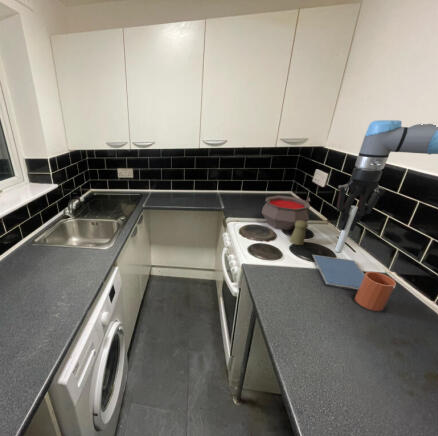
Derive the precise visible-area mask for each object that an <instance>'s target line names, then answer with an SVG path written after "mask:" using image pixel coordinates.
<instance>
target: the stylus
mask: <svg viewBox="0 0 438 436" xmlns="http://www.w3.org/2000/svg"><path fill="white" fill-rule="evenodd" d="M357 209H358V205H352V206H351V208H350V209H349V211H348V214H349V218H348V221H347V224H346V226H345V229H344V230H341V232H340V234H339V237H338V240H337V243H336V244H335V248H334V251H335V253H336V254H339V253H342V251H343V249H344V247H345V244H346V241H347V239H348V235H349V234H350V228H351V225H352V222H353V220H354V217H355V214H356V213H357Z"/></svg>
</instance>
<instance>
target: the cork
mask: <svg viewBox="0 0 438 436" xmlns="http://www.w3.org/2000/svg"><path fill="white" fill-rule="evenodd" d="M308 227H309V224H308V221H306V222H305V221H302V220H298V221H296V222H295V229H293V231H292V234H291V236H290V239H289V242H290V243H291V244H293V245H297V246H303V245H304V244H305V240H306V239H305V238H306V230H307V229H308Z"/></svg>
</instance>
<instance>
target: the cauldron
mask: <svg viewBox="0 0 438 436" xmlns="http://www.w3.org/2000/svg"><path fill="white" fill-rule="evenodd" d="M310 202H311V198H310V197H307V198H306V200H305V199H302V198H299V197H296V196H289V195H288V196H287V195H279V194H277V195H271V196H266V198H265V204H264V205H263V207H262V210H261V214H262V216H263V217H264V219H265V222H266V223H267V224H268V226H271V227H273V228H274V229H278V230H281V231H282V230H283V231H292V230H294V229H295V222H296V221H298V220H302V221H305V222H308V221H309V220H310V217H309V213H308V209H310V208H311V206H310Z"/></svg>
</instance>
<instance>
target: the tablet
mask: <svg viewBox="0 0 438 436" xmlns="http://www.w3.org/2000/svg"><path fill="white" fill-rule="evenodd" d="M311 258H312V260H313V262H314V264H315V266H316V268H317V271H318V273H319V275H320V277H321V279H322V281H323V283H324V285H325V286H326V287H333V288H337V289H338V288H339V289H343V290H344V289H345V290H349V291H355V292H357V291H358V289H359V286H360V284H361V282H362V279H363V277H364V275H365V272H364V271H363V270H362V269H361V267H360V266H359V265H358V263H357V262H356V261H355V260H354V259H346V258H339V257H332V256H325V255H318V254H311Z"/></svg>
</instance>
